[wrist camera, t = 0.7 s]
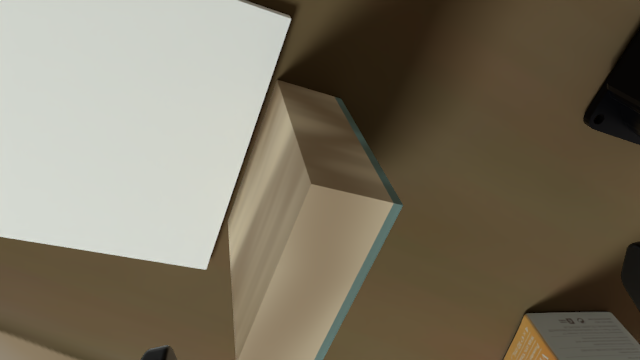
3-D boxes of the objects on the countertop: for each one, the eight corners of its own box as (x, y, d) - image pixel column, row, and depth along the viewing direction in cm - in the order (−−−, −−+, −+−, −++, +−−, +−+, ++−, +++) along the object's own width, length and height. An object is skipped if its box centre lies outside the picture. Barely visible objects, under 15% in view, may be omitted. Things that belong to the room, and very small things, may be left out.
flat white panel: (289, 15, 19) (291, 18, 19) (206, 262, 24) (205, 269, 24) (-17, -91, 16) (-24, -90, 15) (-39, 222, 21) (-44, 229, 20)
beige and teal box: (341, 98, 21) (403, 205, 14) (286, 232, 24) (316, 372, 17) (276, 79, 20) (310, 183, 14) (228, 221, 23) (236, 364, 17)
